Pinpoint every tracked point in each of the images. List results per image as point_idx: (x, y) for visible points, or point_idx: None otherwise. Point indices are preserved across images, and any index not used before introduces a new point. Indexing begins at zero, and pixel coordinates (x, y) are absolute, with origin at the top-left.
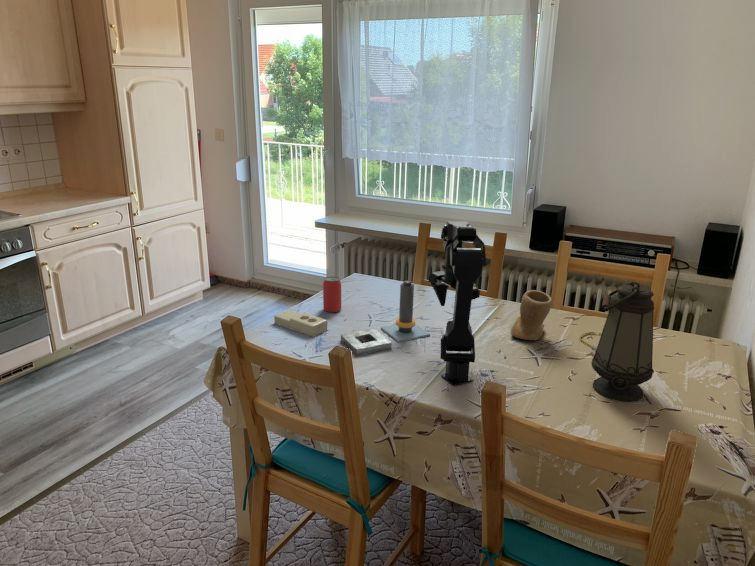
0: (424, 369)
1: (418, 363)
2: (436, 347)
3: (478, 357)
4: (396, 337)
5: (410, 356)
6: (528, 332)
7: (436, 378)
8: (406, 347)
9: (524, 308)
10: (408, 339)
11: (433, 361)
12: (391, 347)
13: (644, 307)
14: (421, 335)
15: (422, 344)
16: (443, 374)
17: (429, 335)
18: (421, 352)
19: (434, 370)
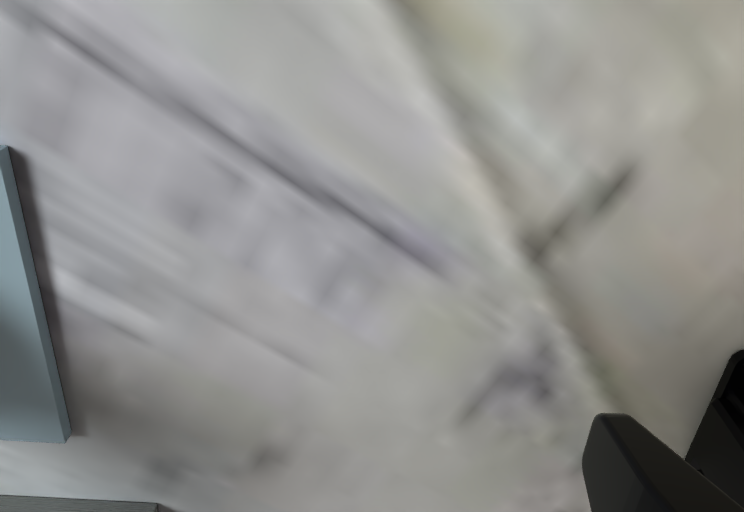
0: (538, 493)
1: (447, 482)
2: (283, 248)
3: (690, 34)
4: (2, 428)
5: (329, 472)
6: None
7: None
8: (182, 428)
9: None
10: (51, 360)
11: (484, 399)
12: (155, 509)
13: None
14: (13, 246)
15: (177, 310)
16: (696, 468)
17: (7, 154)
18: (310, 389)
19: None
